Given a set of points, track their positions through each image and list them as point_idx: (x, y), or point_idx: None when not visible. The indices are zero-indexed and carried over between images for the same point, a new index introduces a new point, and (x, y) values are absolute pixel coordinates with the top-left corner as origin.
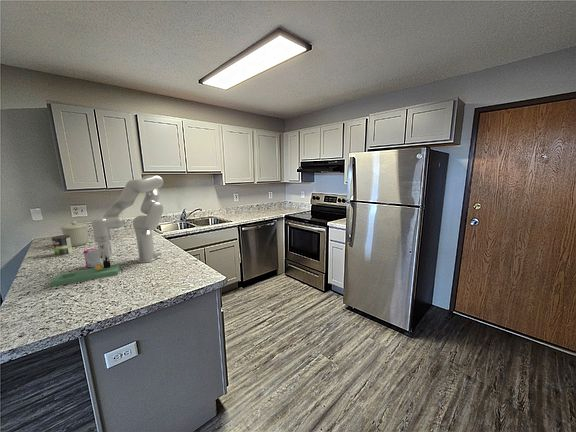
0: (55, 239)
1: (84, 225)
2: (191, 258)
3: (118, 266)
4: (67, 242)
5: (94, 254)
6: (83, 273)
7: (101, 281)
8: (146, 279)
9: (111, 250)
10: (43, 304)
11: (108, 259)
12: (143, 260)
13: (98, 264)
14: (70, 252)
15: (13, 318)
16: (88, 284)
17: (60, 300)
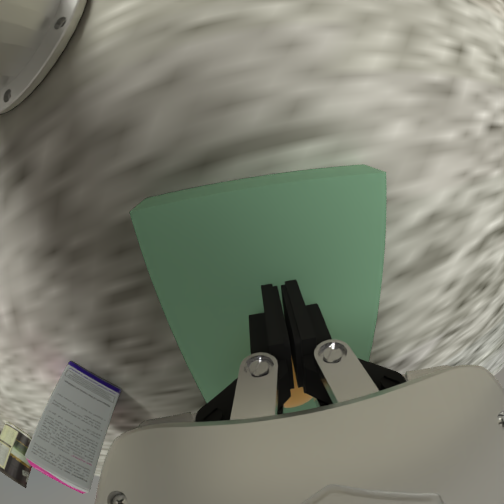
0: (23, 484)
1: None
2: None
3: (222, 197)
4: (6, 458)
5: (70, 450)
6: (295, 408)
7: (439, 255)
8: (491, 4)
9: (139, 498)
10: (486, 357)
11: (332, 367)
12: (55, 18)
13: (299, 400)
14: (13, 430)
15: (500, 366)
16: (434, 312)
17: (499, 328)
